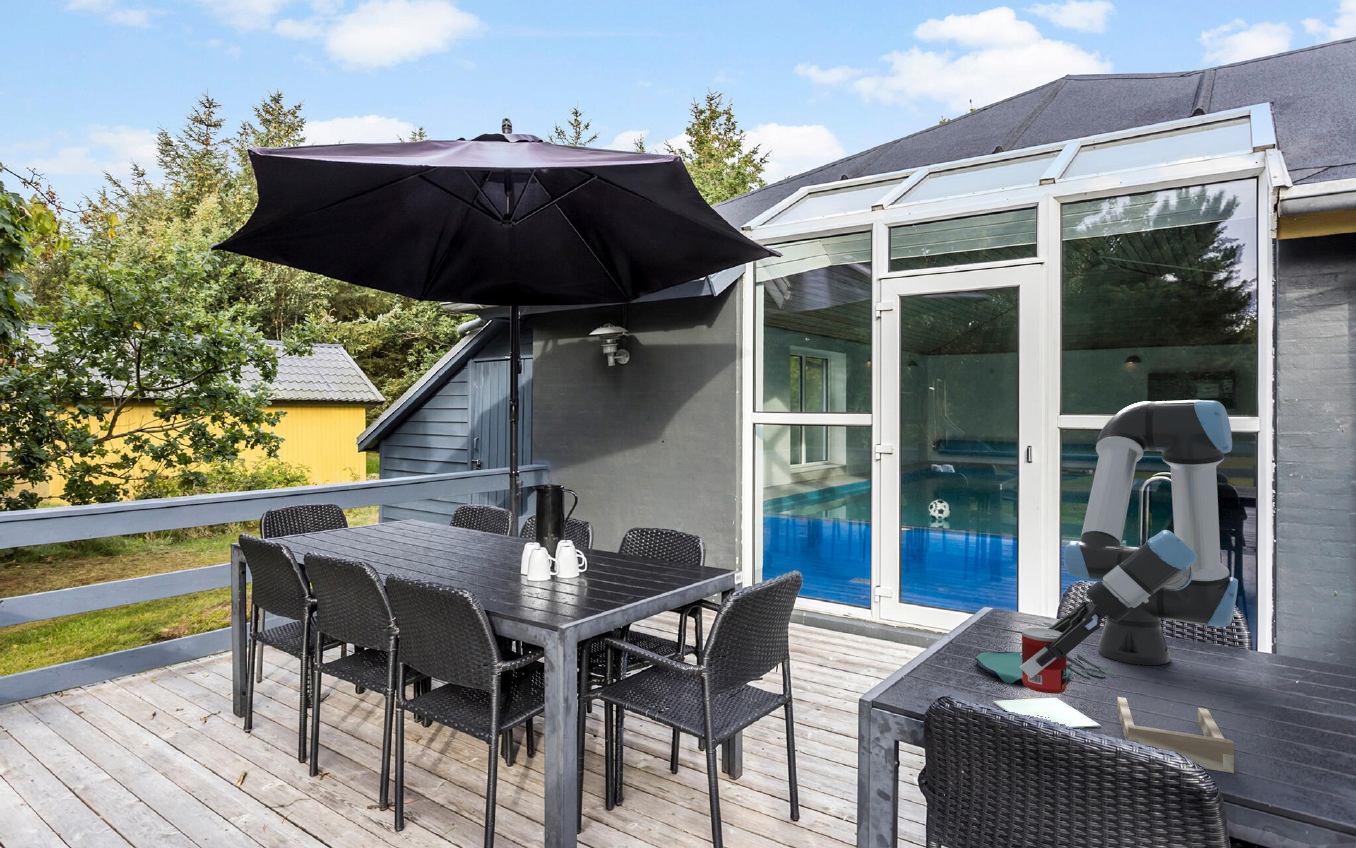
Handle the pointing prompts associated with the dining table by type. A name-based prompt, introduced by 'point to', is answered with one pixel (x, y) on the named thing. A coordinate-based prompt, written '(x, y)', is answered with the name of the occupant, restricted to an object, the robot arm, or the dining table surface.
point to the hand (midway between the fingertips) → (1025, 666)
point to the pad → (1048, 711)
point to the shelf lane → (1183, 739)
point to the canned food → (1054, 673)
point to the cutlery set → (1011, 662)
